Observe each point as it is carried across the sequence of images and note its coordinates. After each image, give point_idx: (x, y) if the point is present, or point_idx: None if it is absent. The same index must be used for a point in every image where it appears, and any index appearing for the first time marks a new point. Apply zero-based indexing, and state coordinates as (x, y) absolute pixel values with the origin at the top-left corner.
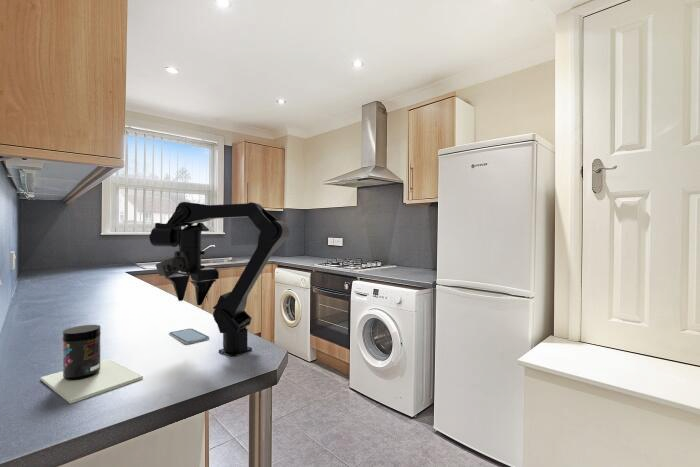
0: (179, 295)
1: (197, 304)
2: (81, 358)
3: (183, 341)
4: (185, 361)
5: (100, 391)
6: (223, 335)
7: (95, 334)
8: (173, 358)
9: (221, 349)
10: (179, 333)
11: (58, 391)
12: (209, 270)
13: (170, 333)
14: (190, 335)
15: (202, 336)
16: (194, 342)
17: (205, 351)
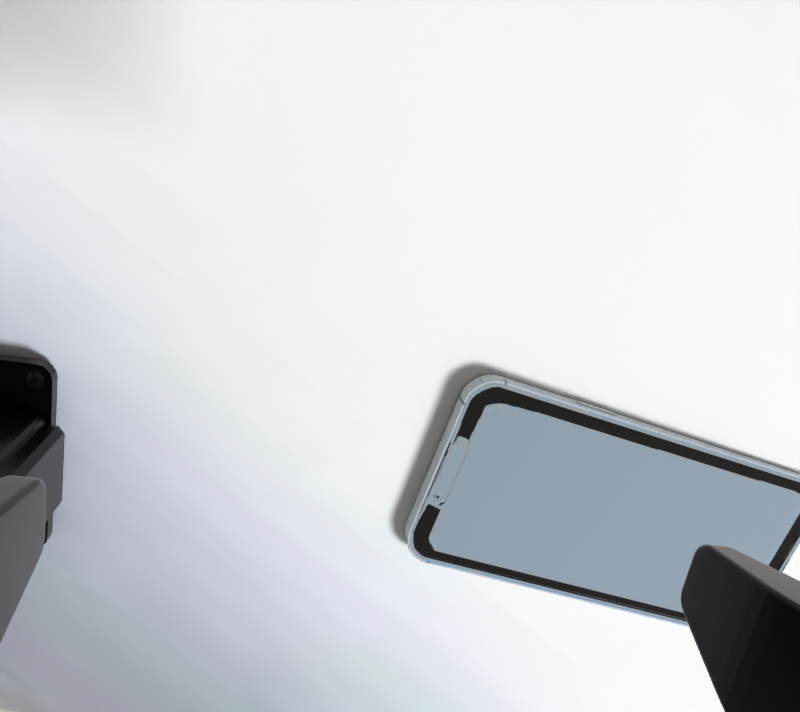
0: (767, 620)
1: (19, 479)
2: None
3: (520, 387)
4: (123, 85)
5: None
6: (4, 476)
7: None
8: (286, 93)
9: (41, 392)
10: (726, 513)
11: None
12: None
13: (797, 482)
14: (595, 516)
15: (478, 541)
16: (445, 434)
17: (182, 333)
